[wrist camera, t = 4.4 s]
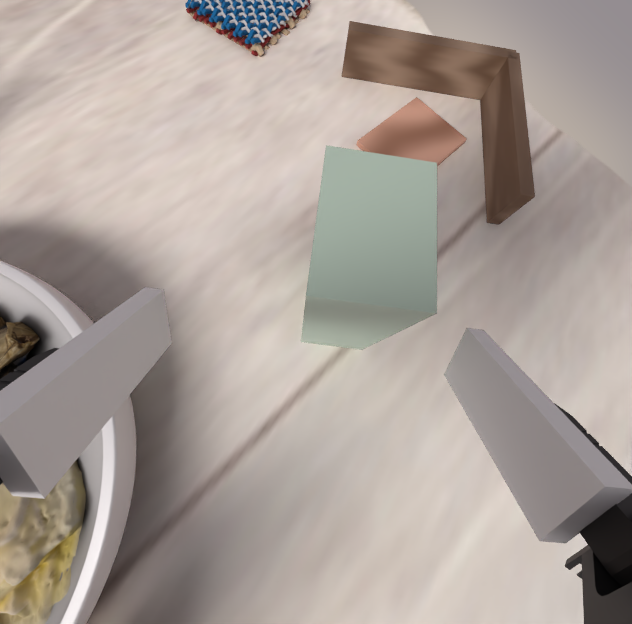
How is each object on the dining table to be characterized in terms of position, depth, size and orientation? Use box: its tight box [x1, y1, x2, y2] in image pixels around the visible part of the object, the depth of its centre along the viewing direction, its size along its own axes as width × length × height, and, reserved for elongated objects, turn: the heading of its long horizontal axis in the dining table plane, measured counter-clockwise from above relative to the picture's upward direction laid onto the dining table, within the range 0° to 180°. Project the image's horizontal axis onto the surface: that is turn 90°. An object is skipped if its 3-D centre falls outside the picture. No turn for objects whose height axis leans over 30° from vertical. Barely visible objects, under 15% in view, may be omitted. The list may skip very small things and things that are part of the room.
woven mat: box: [185, 0, 310, 56], centre depth 30 cm, size 10×11×2 cm
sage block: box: [301, 145, 437, 350], centre depth 17 cm, size 5×7×12 cm
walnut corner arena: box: [342, 21, 535, 224], centre depth 26 cm, size 17×17×4 cm
